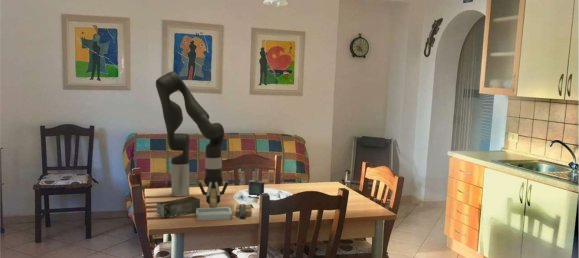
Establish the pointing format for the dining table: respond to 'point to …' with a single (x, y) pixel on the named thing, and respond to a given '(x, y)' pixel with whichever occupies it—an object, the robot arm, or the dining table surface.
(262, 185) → the flask
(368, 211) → the dining table surface
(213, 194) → the tan cylinder
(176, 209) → the beverage carton
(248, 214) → the tan flat block
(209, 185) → the robot arm
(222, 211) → the tray
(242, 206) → the stop post
